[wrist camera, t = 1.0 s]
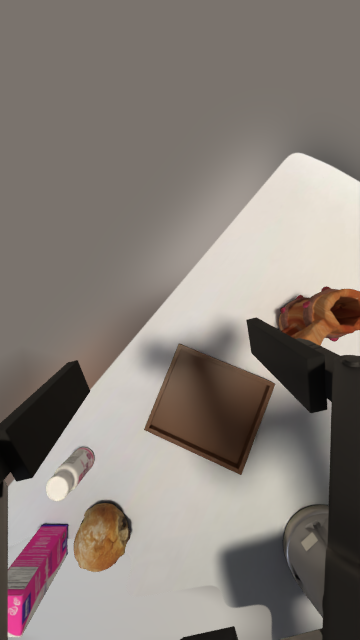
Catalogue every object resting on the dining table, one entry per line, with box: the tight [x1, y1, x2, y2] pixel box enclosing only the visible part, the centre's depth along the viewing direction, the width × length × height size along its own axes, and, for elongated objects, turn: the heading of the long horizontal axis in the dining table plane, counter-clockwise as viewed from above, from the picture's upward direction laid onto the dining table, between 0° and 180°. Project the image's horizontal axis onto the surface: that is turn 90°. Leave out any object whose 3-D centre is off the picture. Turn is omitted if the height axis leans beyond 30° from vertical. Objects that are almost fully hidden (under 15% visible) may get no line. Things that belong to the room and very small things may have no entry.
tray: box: [144, 344, 275, 475], centre depth 40 cm, size 21×19×2 cm
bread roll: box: [74, 503, 131, 572], centre depth 38 cm, size 10×10×8 cm
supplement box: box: [8, 524, 68, 637], centre depth 35 cm, size 6×6×12 cm
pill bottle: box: [46, 447, 94, 501], centre depth 37 cm, size 5×5×8 cm
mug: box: [279, 287, 360, 345], centre depth 33 cm, size 15×8×15 cm, turn 126°
